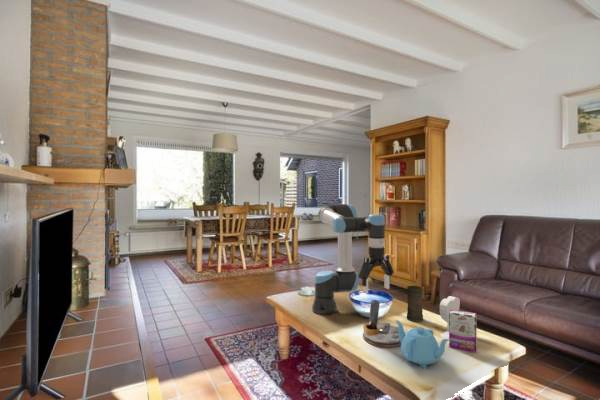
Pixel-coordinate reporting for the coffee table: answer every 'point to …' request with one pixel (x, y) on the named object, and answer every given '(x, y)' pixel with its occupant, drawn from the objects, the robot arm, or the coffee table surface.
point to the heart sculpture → (445, 308)
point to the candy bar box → (462, 330)
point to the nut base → (381, 344)
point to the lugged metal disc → (382, 334)
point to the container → (415, 304)
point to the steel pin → (373, 314)
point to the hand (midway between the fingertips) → (376, 290)
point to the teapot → (420, 346)
